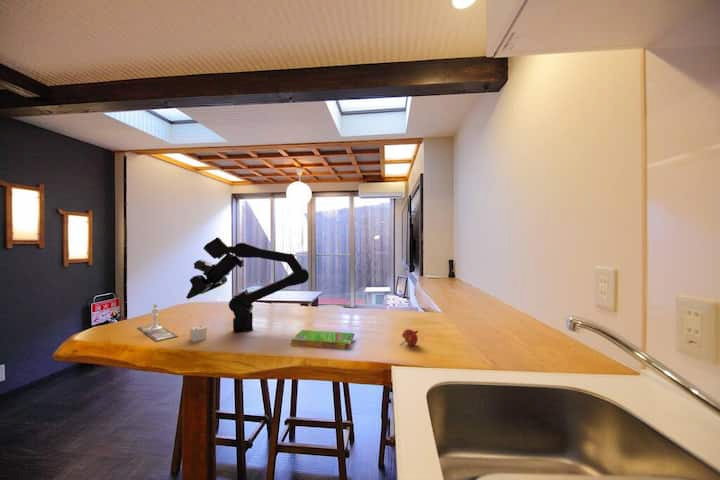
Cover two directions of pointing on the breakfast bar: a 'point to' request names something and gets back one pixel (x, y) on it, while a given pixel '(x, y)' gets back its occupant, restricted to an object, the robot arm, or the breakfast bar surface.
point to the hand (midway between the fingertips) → (194, 295)
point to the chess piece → (154, 321)
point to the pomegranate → (410, 337)
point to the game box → (322, 339)
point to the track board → (157, 333)
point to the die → (198, 333)
